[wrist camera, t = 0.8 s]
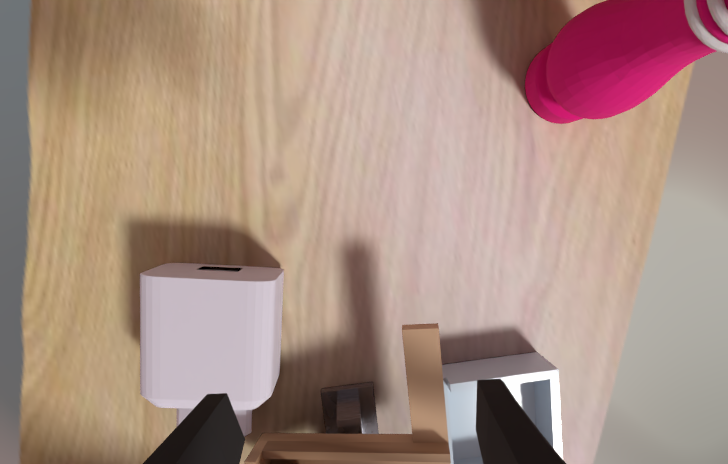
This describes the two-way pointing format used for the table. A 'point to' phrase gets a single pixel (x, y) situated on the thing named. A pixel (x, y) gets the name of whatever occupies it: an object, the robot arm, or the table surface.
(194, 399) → the charger
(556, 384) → the dish
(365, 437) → the lever
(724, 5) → the pink bowling pin
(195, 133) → the table surface
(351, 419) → the fulcrum
